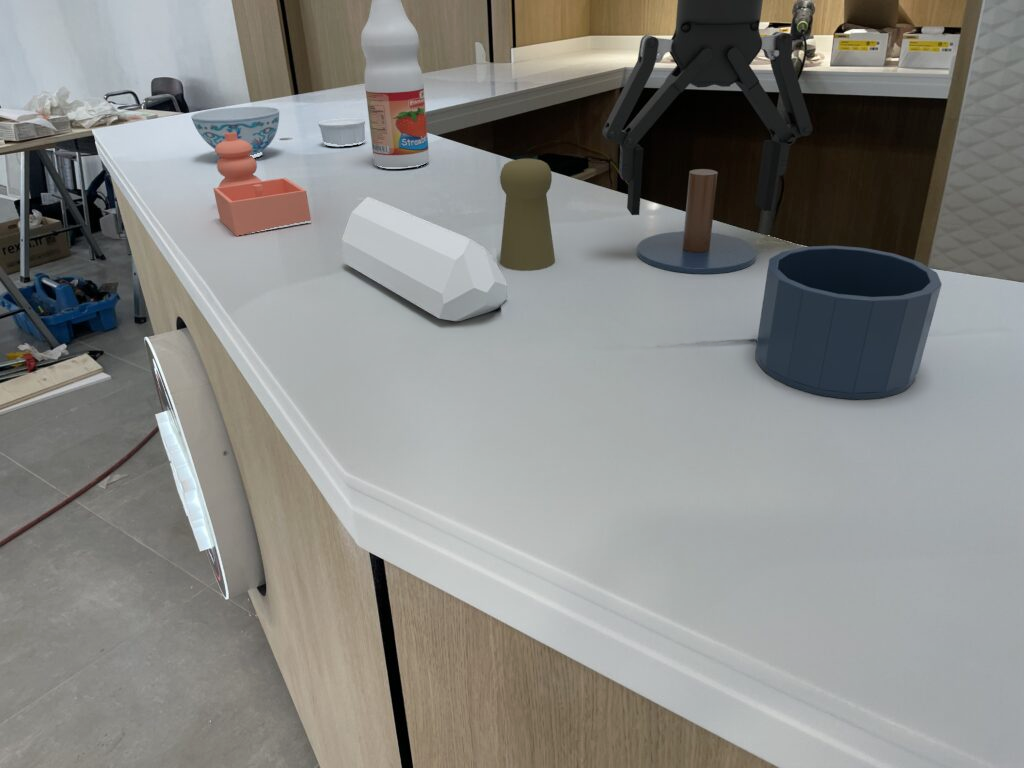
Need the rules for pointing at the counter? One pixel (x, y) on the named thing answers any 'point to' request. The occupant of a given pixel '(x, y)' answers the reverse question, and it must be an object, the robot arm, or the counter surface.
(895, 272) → the blue round pot
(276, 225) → the pottery
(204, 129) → the chinaware
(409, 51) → the fruit juice
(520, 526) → the counter surface
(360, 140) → the ramekin
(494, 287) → the crystal
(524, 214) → the cork
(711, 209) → the cover
